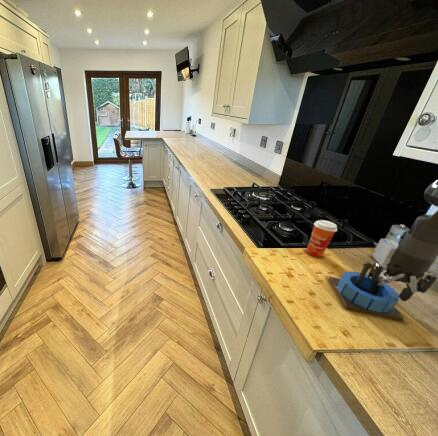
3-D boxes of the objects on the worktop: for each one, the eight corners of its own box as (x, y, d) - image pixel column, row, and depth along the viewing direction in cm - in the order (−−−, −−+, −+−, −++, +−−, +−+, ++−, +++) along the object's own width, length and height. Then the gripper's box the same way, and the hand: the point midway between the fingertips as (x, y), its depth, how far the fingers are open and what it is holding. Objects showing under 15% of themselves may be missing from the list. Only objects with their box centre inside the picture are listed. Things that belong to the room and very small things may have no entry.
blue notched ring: (377, 286, 79) (383, 277, 77) (402, 317, 67) (410, 307, 65) (330, 277, 82) (335, 267, 81) (347, 305, 71) (353, 295, 69)
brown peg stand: (376, 288, 80) (395, 256, 74) (402, 321, 68) (428, 286, 62) (328, 279, 83) (344, 247, 77) (345, 308, 71) (364, 273, 65)
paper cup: (299, 249, 100) (310, 220, 94) (312, 247, 102) (324, 218, 96) (315, 260, 93) (329, 229, 87) (329, 257, 96) (343, 227, 89)
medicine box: (395, 269, 90) (407, 250, 86) (381, 266, 91) (392, 248, 87) (384, 258, 97) (394, 240, 93) (370, 255, 98) (380, 237, 94)
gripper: (393, 253, 64) (365, 298, 71) (461, 265, 60) (424, 311, 68) (378, 240, 70) (354, 282, 78) (439, 249, 67) (408, 293, 74)
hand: (387, 296), depth 73 cm, fingers open, 7 cm apart
